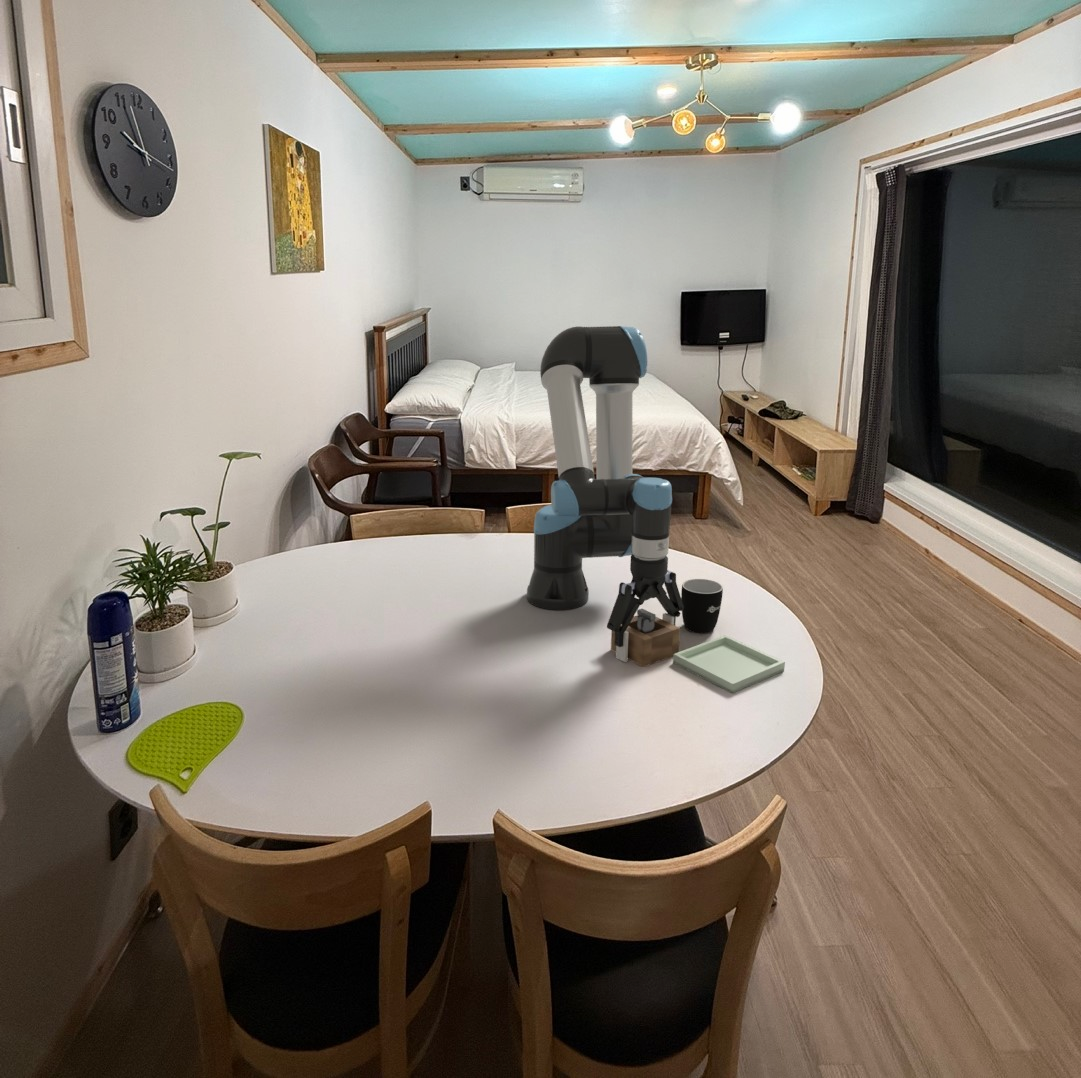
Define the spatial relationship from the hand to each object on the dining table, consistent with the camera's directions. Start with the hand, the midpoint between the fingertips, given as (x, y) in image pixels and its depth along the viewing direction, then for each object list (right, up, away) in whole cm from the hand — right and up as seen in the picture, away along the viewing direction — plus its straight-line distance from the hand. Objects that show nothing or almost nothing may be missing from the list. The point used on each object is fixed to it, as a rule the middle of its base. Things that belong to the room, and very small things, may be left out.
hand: (644, 651), depth 169 cm
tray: (+16, -2, -6) cm, 17 cm away
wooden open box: (0, 0, 0) cm, 0 cm away
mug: (+15, +4, +13) cm, 20 cm away
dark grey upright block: (0, 0, 0) cm, 0 cm away
